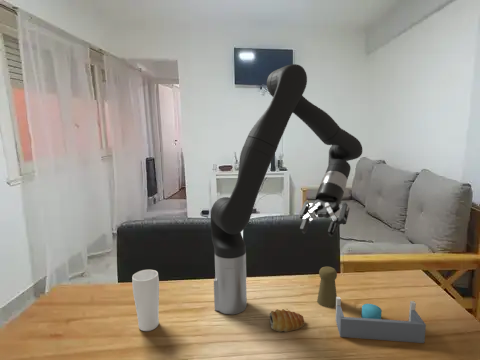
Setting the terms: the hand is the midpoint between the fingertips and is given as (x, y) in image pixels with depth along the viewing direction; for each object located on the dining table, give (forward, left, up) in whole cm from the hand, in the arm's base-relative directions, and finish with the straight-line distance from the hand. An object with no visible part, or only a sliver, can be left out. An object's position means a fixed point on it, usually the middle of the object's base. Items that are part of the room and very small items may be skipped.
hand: (316, 233), depth 86 cm
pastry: (-9, -8, -24) cm, 27 cm away
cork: (+4, +4, -24) cm, 24 cm away
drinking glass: (-46, -13, -24) cm, 53 cm away
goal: (+15, -8, -23) cm, 29 cm away
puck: (+15, -3, -23) cm, 28 cm away
